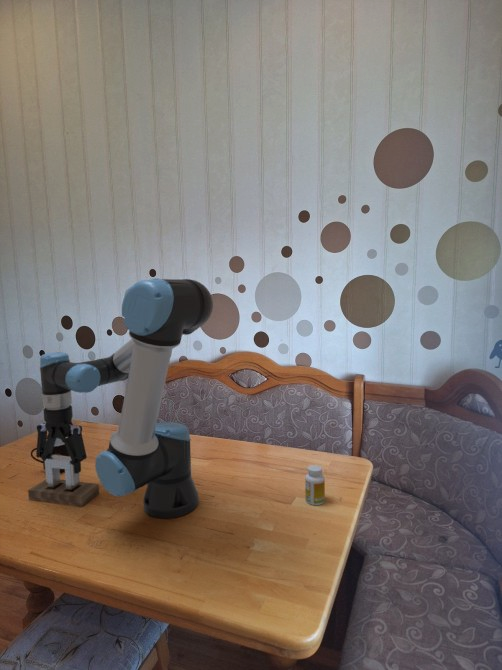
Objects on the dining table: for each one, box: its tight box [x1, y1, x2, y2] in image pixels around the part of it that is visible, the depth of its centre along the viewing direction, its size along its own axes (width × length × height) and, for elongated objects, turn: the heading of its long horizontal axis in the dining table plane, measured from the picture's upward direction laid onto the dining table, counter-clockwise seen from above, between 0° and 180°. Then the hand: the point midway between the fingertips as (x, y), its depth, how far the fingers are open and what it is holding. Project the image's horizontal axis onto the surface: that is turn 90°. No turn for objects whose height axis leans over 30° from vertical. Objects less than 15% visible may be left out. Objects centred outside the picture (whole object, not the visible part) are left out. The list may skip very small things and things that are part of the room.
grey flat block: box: [27, 478, 100, 508], centre depth 124 cm, size 18×8×3 cm, turn 75°
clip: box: [46, 455, 78, 490], centre depth 124 cm, size 8×3×8 cm, turn 75°
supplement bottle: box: [304, 464, 326, 506], centre depth 119 cm, size 5×5×10 cm
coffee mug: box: [30, 437, 70, 475], centre depth 143 cm, size 12×9×10 cm
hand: (63, 481), depth 124 cm, fingers closed on clip, 8 cm apart
